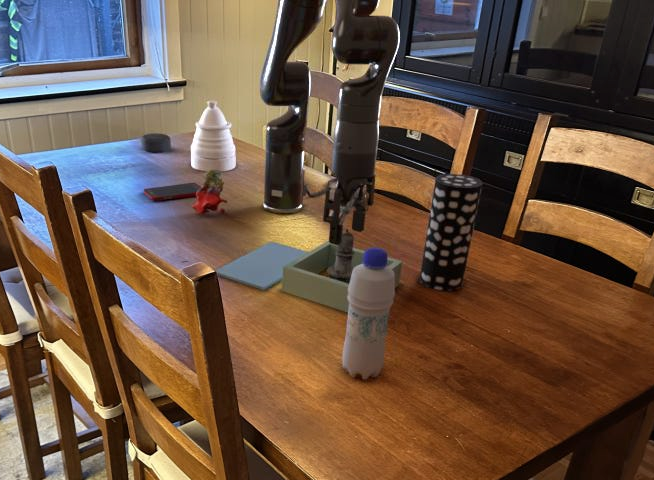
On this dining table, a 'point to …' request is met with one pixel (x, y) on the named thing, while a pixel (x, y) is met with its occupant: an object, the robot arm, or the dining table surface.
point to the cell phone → (172, 191)
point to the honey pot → (213, 142)
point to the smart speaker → (156, 142)
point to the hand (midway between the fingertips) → (346, 237)
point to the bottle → (368, 314)
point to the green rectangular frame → (321, 289)
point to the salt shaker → (343, 259)
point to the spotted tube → (450, 231)
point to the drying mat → (261, 265)
